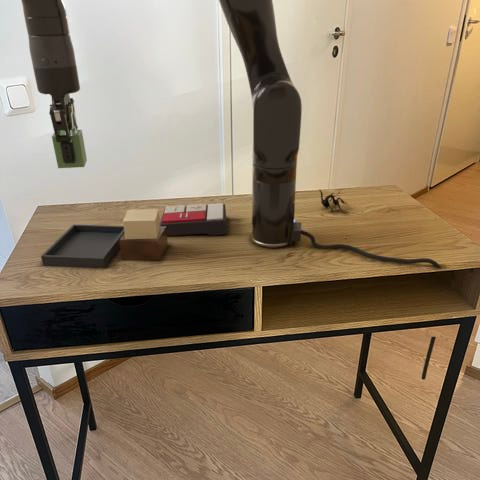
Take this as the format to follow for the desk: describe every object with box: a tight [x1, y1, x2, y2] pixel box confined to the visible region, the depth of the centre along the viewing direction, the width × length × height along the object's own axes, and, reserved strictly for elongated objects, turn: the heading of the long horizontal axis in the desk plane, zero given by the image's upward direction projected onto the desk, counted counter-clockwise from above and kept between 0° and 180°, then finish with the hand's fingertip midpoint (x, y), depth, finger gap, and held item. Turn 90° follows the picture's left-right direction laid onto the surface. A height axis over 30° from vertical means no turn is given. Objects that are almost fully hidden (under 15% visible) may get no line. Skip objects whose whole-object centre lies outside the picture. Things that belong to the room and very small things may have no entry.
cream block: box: [122, 208, 161, 239], centre depth 105 cm, size 6×6×4 cm
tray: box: [40, 224, 125, 269], centre depth 109 cm, size 13×17×2 cm
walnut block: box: [119, 226, 169, 262], centre depth 107 cm, size 8×8×4 cm
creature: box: [318, 189, 349, 213], centre depth 128 cm, size 8×5×8 cm
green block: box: [51, 129, 88, 169], centre depth 98 cm, size 5×5×6 cm
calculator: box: [160, 202, 227, 237], centre depth 119 cm, size 11×4×15 cm
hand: (71, 158), depth 99 cm, fingers closed on green block, 5 cm apart
